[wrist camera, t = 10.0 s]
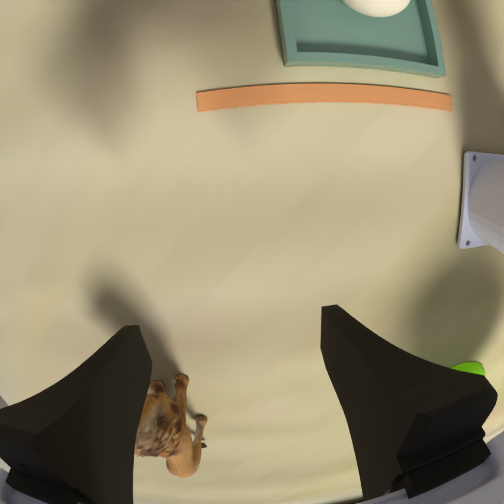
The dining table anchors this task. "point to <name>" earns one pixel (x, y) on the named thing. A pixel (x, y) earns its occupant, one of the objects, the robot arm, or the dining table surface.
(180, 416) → the lion figurine
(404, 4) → the ball
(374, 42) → the tray
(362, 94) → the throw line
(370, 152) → the dining table surface
